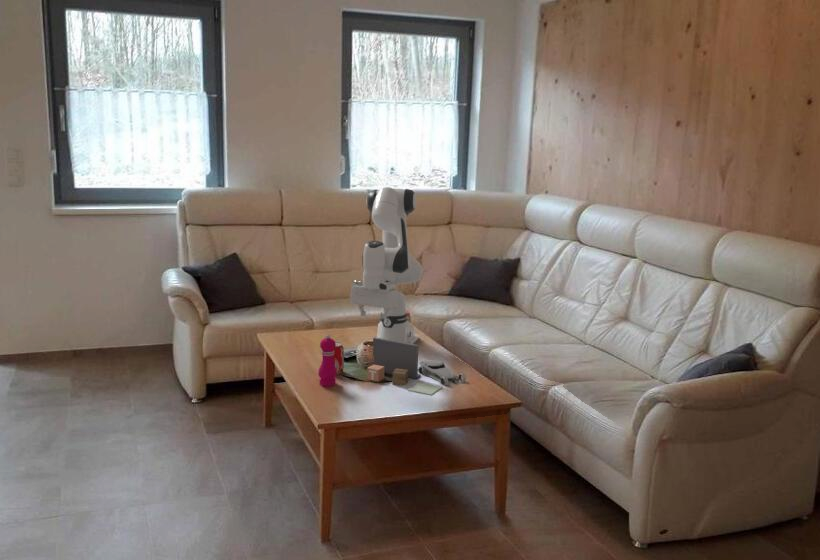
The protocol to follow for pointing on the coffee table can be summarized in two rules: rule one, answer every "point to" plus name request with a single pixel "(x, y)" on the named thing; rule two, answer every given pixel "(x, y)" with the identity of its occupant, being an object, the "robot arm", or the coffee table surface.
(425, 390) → the felt mat
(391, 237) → the robot arm
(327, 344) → the pepper mill
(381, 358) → the screen
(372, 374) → the letter block
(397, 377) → the walnut block
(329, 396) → the coffee table surface
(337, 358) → the soda can
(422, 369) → the car model
